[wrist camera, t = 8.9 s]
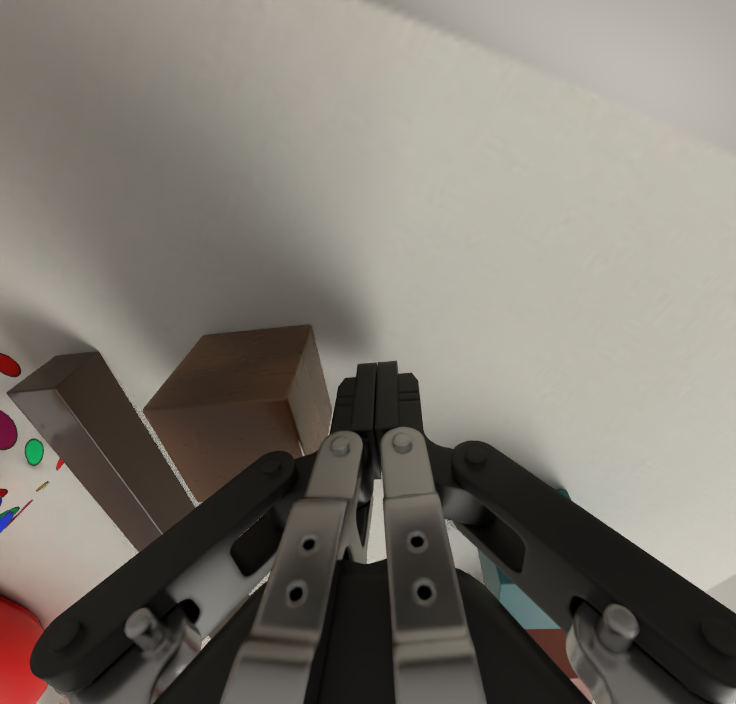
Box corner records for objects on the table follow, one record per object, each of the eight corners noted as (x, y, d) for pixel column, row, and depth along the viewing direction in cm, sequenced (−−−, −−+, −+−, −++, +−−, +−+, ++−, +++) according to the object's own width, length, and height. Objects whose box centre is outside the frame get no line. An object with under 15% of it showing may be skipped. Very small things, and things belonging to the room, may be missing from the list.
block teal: (566, 488, 19) (611, 581, 15) (554, 538, 22) (591, 628, 18) (477, 493, 20) (500, 584, 16) (475, 541, 22) (494, 630, 18)
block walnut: (311, 323, 14) (286, 398, 11) (332, 410, 17) (318, 496, 13) (201, 334, 15) (140, 410, 11) (237, 418, 17) (196, 503, 13)
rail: (98, 350, 15) (54, 388, 13) (315, 703, 39) (311, 736, 37) (55, 355, 16) (4, 392, 14) (297, 703, 39) (292, 736, 37)
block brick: (572, 592, 25) (606, 678, 21) (562, 622, 27) (591, 704, 23) (503, 594, 25) (524, 678, 21) (499, 623, 28) (517, 704, 24)
